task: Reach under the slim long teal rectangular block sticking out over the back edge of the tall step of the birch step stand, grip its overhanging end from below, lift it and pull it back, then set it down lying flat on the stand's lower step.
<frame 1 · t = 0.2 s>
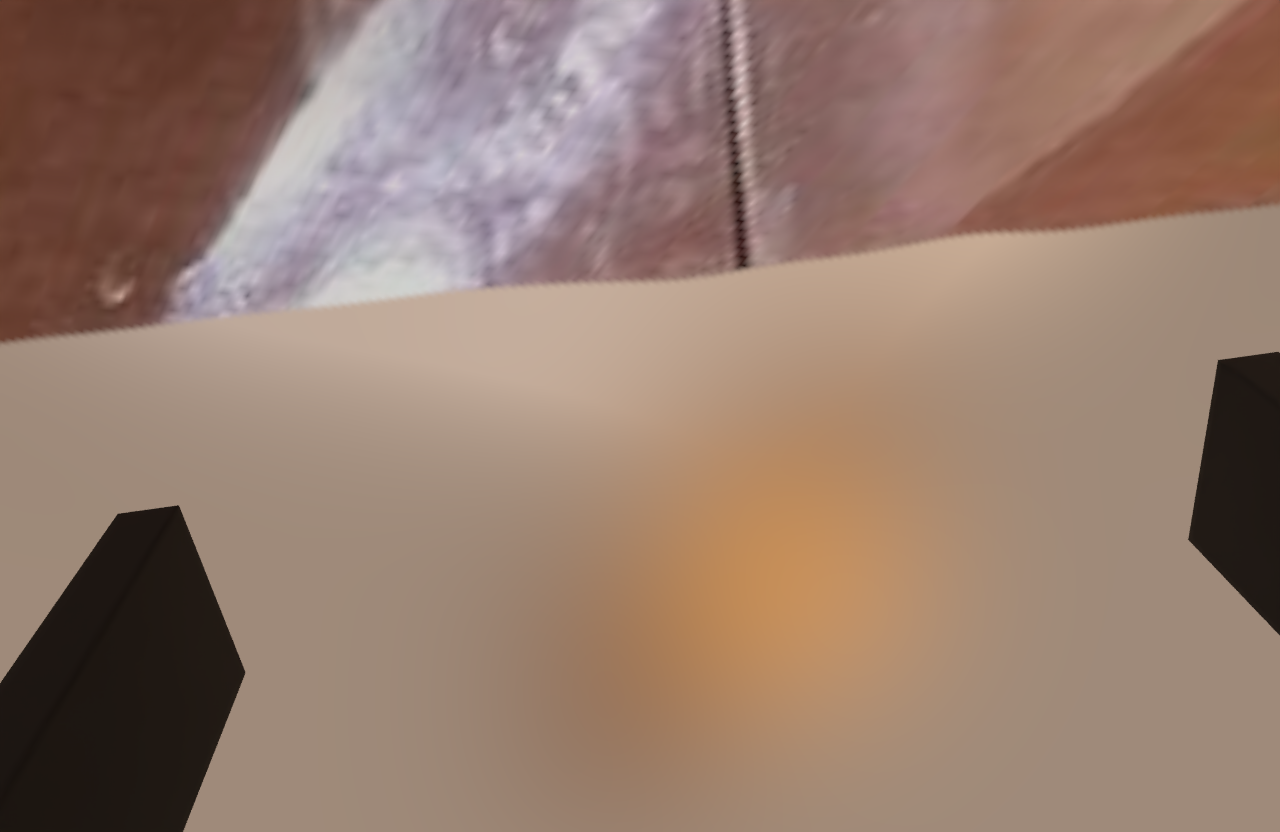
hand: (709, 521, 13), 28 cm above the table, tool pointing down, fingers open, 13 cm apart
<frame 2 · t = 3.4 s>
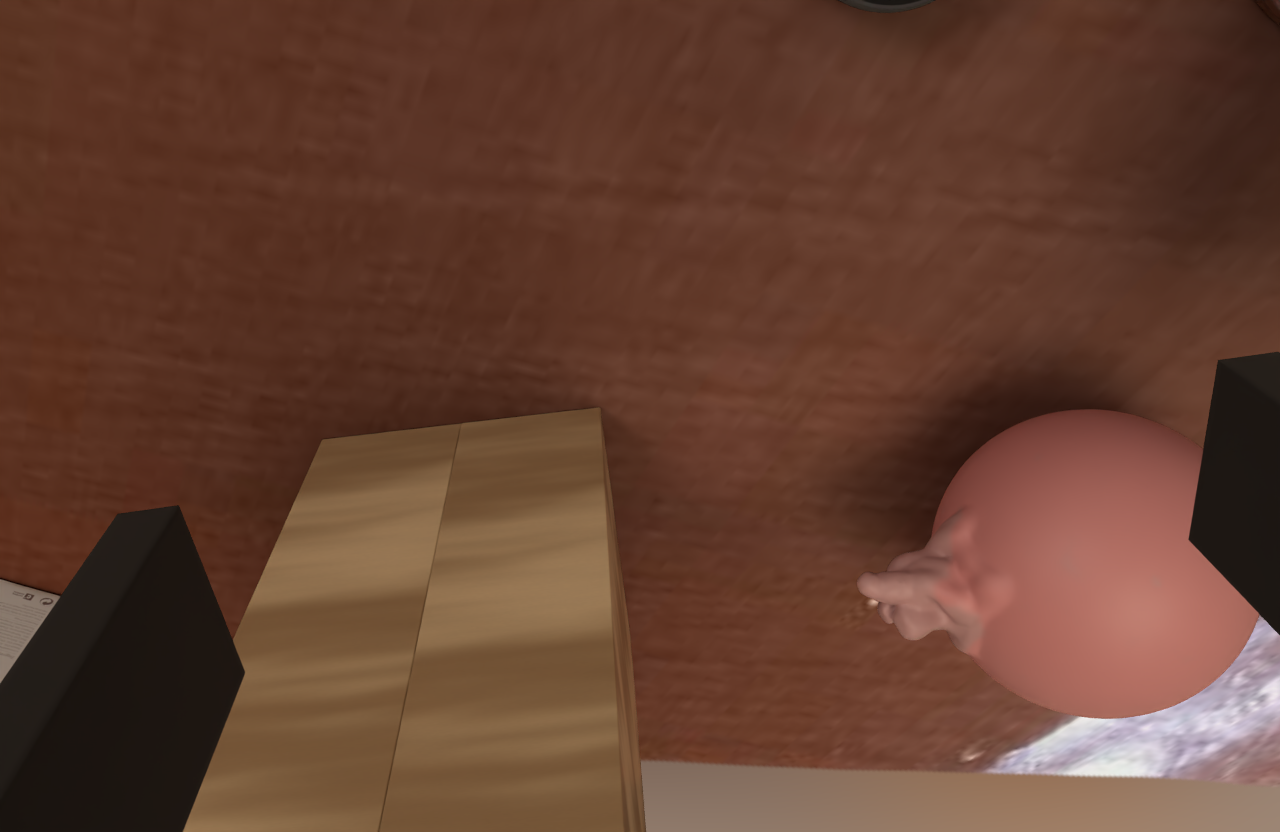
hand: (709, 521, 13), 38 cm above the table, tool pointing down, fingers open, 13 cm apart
step stand: (486, 545, 58), on the table
cosmetic box: (25, 622, 59), on the table
balloon: (987, 478, 58), on the table
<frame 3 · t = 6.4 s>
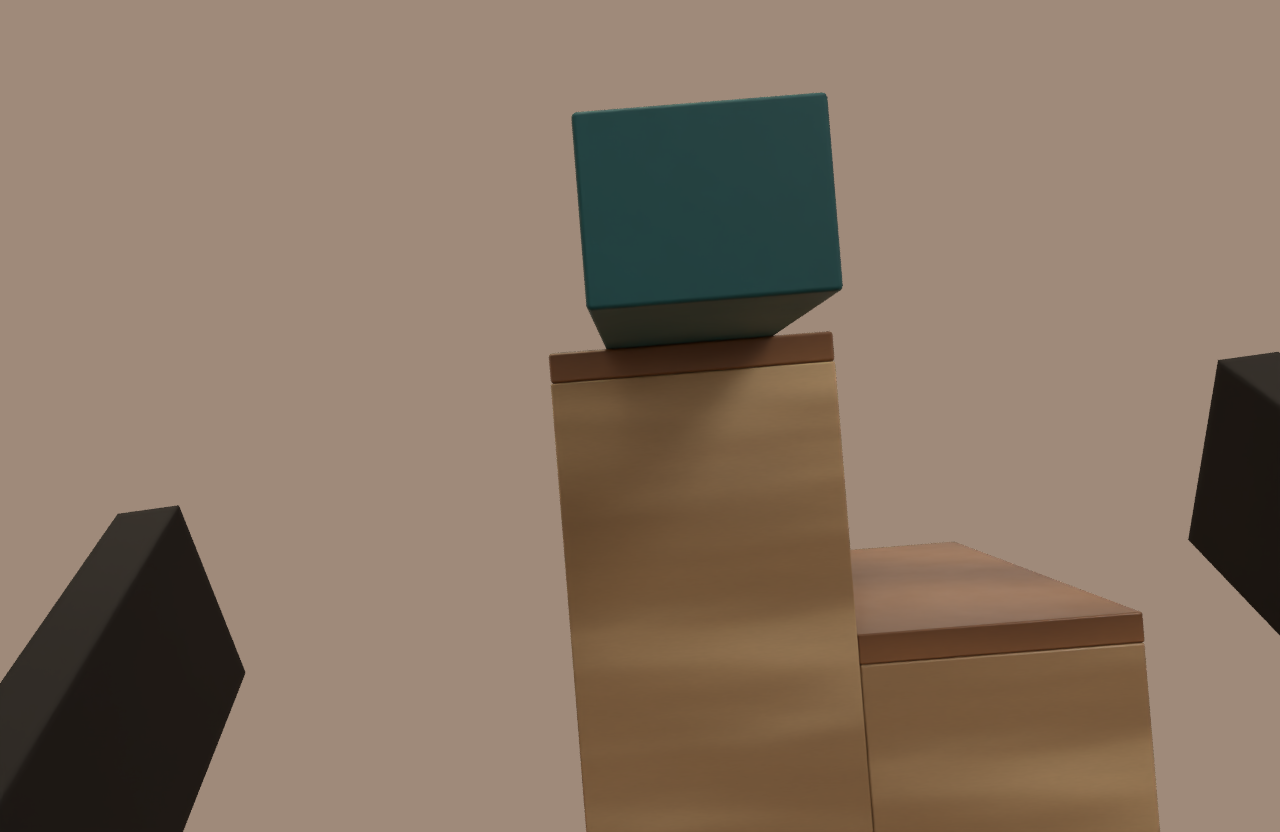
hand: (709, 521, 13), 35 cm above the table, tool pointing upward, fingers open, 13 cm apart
long teal rectangular block: (687, 347, 29), point 38 cm above the table, touching step stand
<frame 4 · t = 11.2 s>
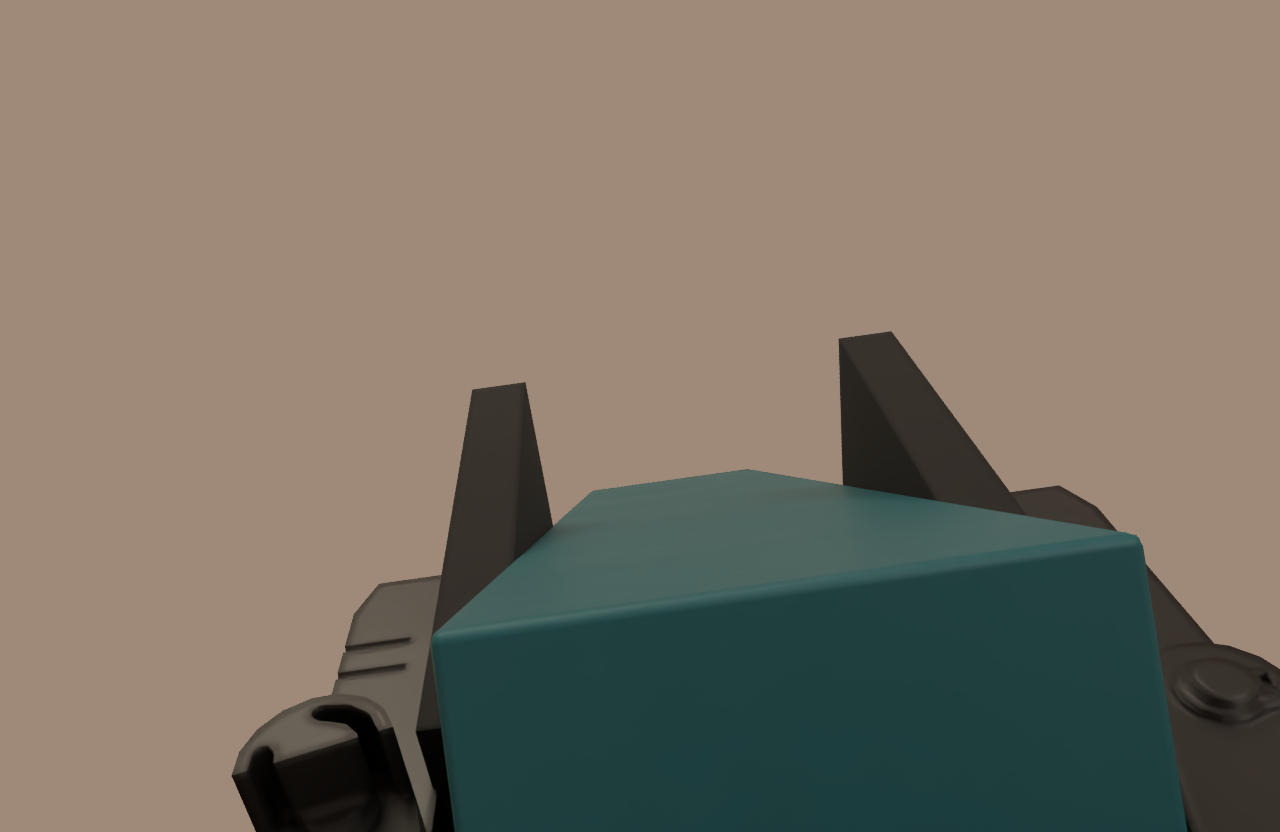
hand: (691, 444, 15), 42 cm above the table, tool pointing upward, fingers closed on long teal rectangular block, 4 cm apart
long teal rectangular block: (720, 704, 17), point 38 cm above the table, touching gripper, step stand
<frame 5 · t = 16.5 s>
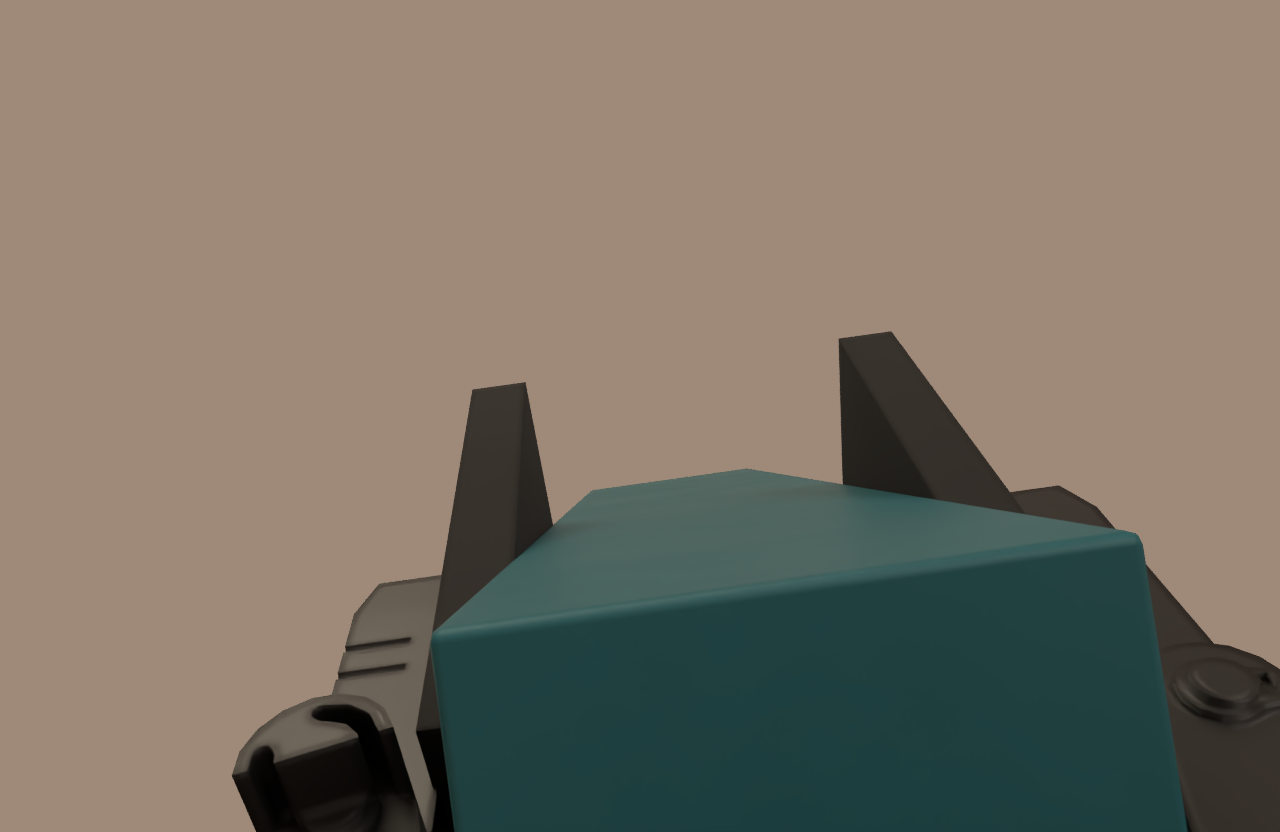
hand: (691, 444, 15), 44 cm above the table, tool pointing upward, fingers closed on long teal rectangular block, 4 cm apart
long teal rectangular block: (720, 703, 17), point 40 cm above the table, touching gripper
when the fingers open (34 cm above the table, at t = 21.7 s): long teal rectangular block stays where it is, resting on step stand.
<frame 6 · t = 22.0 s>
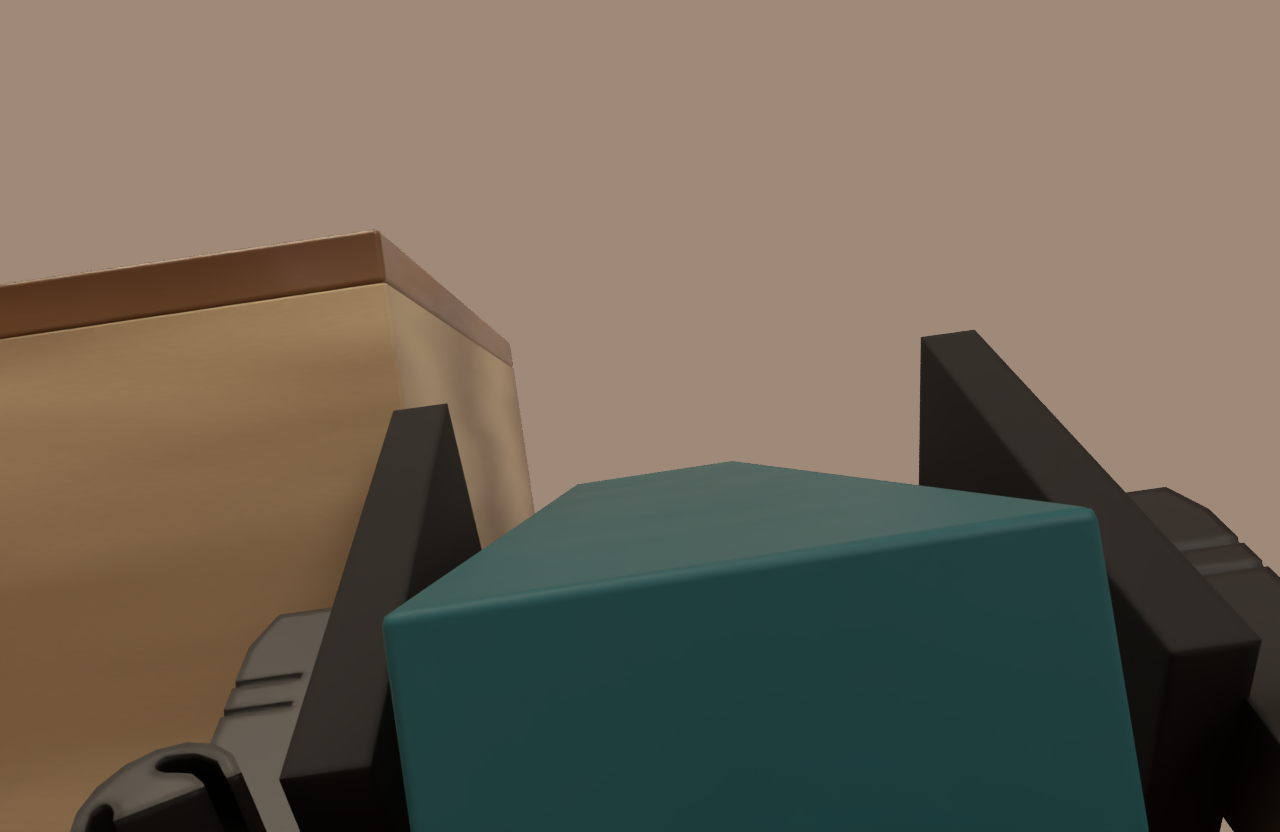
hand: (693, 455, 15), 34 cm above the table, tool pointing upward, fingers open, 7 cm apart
long teal rectangular block: (701, 694, 17), point 30 cm above the table, touching step stand
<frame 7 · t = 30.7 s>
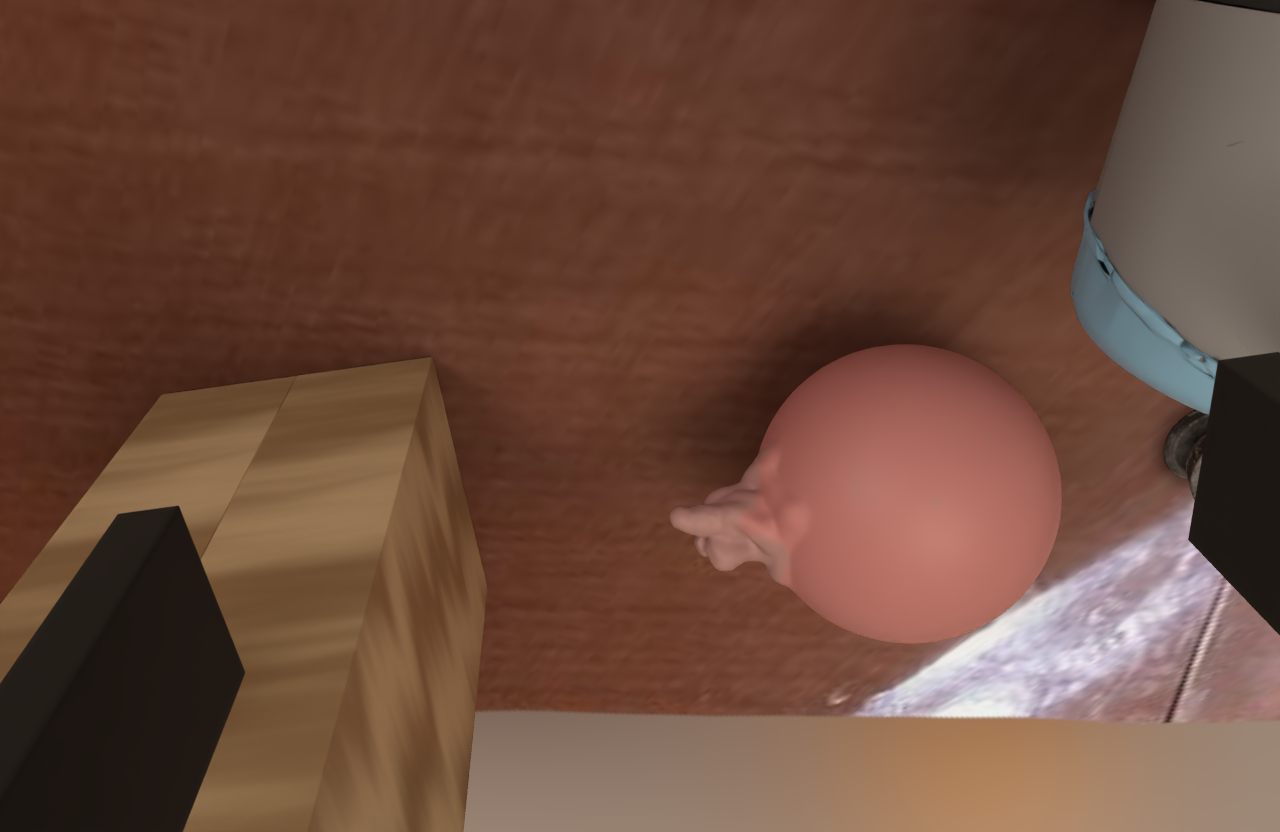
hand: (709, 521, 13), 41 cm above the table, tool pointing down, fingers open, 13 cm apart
step stand: (334, 497, 60), on the table
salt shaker: (1205, 440, 62), on the table
balloon: (823, 420, 60), on the table
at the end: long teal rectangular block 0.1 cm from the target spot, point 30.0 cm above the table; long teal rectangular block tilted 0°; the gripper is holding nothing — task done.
